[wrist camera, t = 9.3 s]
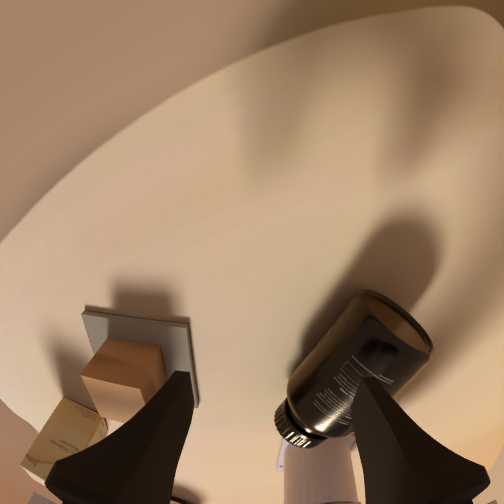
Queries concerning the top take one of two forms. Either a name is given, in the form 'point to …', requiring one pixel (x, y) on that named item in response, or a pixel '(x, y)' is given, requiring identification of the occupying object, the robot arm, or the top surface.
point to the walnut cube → (124, 377)
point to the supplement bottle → (351, 368)
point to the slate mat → (145, 338)
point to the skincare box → (63, 437)
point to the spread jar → (176, 501)
